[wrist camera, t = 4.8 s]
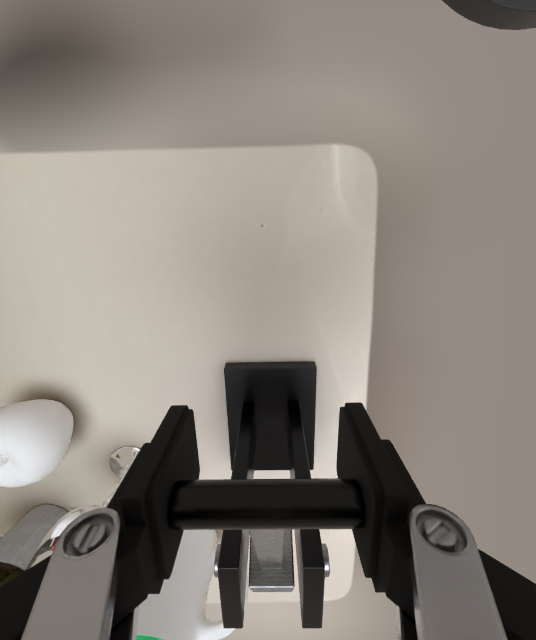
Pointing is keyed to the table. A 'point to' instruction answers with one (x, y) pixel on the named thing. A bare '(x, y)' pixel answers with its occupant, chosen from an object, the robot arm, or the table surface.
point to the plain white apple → (33, 440)
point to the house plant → (25, 540)
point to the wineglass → (120, 466)
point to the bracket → (271, 454)
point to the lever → (267, 516)
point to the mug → (184, 595)
